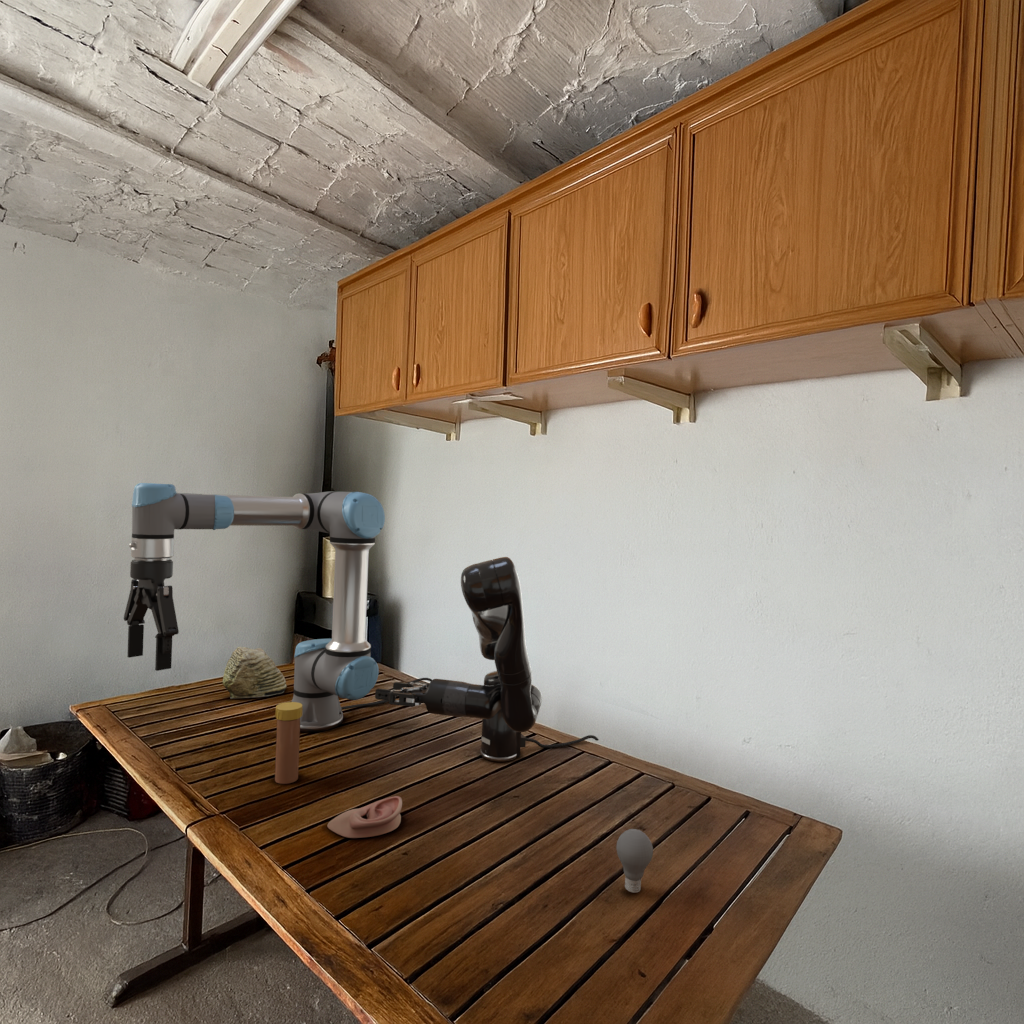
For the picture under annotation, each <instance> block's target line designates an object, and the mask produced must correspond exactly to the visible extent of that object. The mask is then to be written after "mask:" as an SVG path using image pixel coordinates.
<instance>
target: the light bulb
mask: <svg viewBox="0 0 1024 1024" xmlns="http://www.w3.org/2000/svg"><path fill="white" fill-rule="evenodd" d="M615 849H616V854H617V857H618V859H619V861H620V863H621V865H622V867H623V873H624V874H623V875H624V876H625V878H624V888H625V890H627V891H628V892H630V893H634V894H635V893H639V892H640V891H641V889H642V887H641V886H642V879H643V877H644V875H645V871H646V868H647V867H648V866H649V864H650V863H651V861H652V859H653V855H654V847H653V843H652V841H651V838H649V836H648V835H647V834H646V833H645V832H643V831H642V830H641V829H636V828H629V829H627V830H625V831H623V832H622V833H621V834H620V835H619V837H618V839H617V841H616V847H615Z"/></svg>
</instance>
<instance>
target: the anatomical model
mask: <svg viewBox="0 0 1024 1024" xmlns="http://www.w3.org/2000/svg"><path fill="white" fill-rule="evenodd" d="M402 808H403V799H402V797H401V796H399V795H395V796H389V797H385V798H383V799H379V800H376V801H374V802H372V803H369V804H367V805H365V806H362V807H359V808H353V809H349V810H346V811H344V812H341V813H340V814H338V815H337V816H335V817H334V818H332V819H331V820H330V821H329V822H328V823H327V828H328V829H329V830H330V831H331V832H333V833H335V834H337V835H339V836H340V837H341V836H342V837H344V838H347V839H360V838H370V837H371V838H372V837H377V836H382V835H384V834H387V833H390V832H392V831H394V830H396V829H397V828H398V827H399V826H400V824H401V822H402V815H401V811H402Z"/></svg>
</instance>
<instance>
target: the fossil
mask: <svg viewBox="0 0 1024 1024" xmlns="http://www.w3.org/2000/svg"><path fill="white" fill-rule="evenodd" d="M222 676H223V677H222V685H223V687H224V688H225V690H226V691H228V693H229V698H230V699H250V698H264V697H271V696H275V695H281V694H284V693H285V691H286V689H287V687H288V686H287V680H286V678H285V676H284V674H283V673H282V672H281V669H279V668H278V667H277V665H276V663H275V662H274V660H273V659H272V658H271V657H270V656H269V655H268V654H267V653H266V652H265V650H264V649H263V648H260V647H258V648H251V647H247V646H246V647H245V646H238V647H237V648H236V649H235V650H233V651H232V653H231V656H230V657H229V659H228V660H227V663H226V666H225V668H224V671H223V675H222Z"/></svg>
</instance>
